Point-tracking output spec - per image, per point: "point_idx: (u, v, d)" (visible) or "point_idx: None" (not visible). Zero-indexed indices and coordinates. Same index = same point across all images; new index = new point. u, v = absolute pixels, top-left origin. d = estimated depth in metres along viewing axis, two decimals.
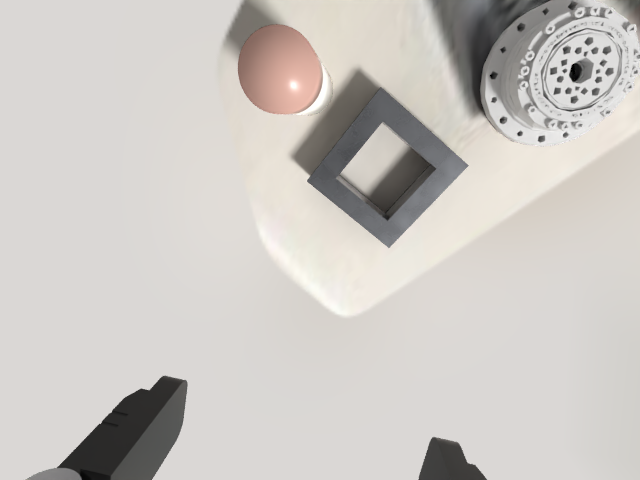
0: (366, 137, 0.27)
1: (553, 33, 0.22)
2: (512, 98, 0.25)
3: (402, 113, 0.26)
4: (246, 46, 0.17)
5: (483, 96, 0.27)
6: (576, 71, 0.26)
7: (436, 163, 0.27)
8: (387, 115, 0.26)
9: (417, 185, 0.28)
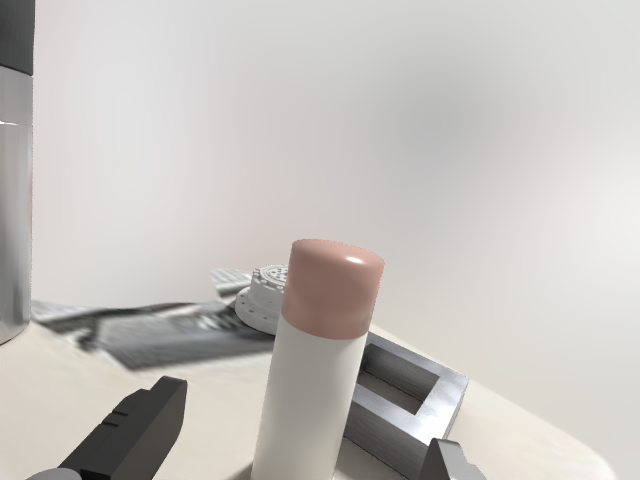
0: None
1: (267, 280, 0.32)
2: None
3: None
4: (315, 257, 0.13)
5: None
6: None
7: (366, 342, 0.27)
8: None
9: (390, 362, 0.27)
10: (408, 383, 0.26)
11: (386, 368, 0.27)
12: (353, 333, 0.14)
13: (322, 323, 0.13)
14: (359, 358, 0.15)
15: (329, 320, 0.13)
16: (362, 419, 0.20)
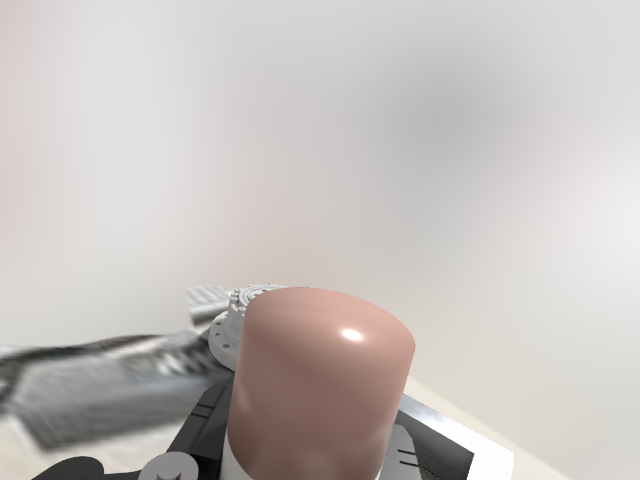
0: None
1: (246, 306, 0.26)
2: None
3: None
4: (282, 347, 0.07)
5: None
6: None
7: None
8: None
9: (405, 426, 0.20)
10: (429, 457, 0.19)
11: None
12: None
13: (296, 475, 0.07)
14: None
15: (310, 470, 0.07)
16: None
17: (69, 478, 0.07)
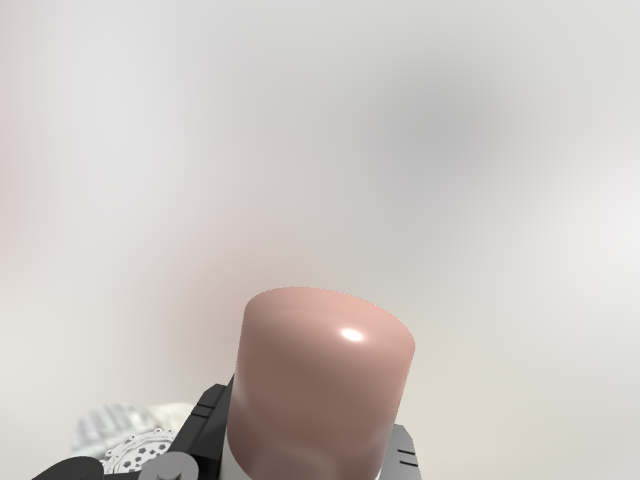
0: None
1: None
2: None
3: None
4: (281, 347, 0.07)
5: None
6: None
7: None
8: None
9: None
10: None
11: None
12: None
13: (296, 475, 0.07)
14: None
15: (309, 470, 0.07)
16: None
17: (69, 478, 0.07)
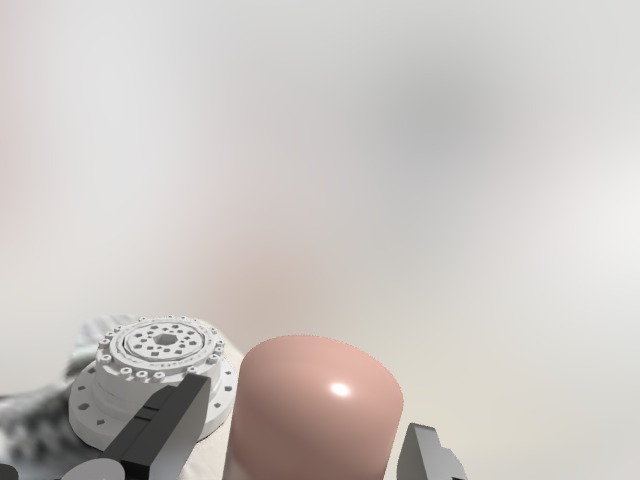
0: None
1: (113, 354, 0.20)
2: None
3: None
4: (274, 414, 0.07)
5: None
6: None
7: None
8: None
9: None
10: None
11: None
12: None
13: None
14: None
15: None
16: None
17: None
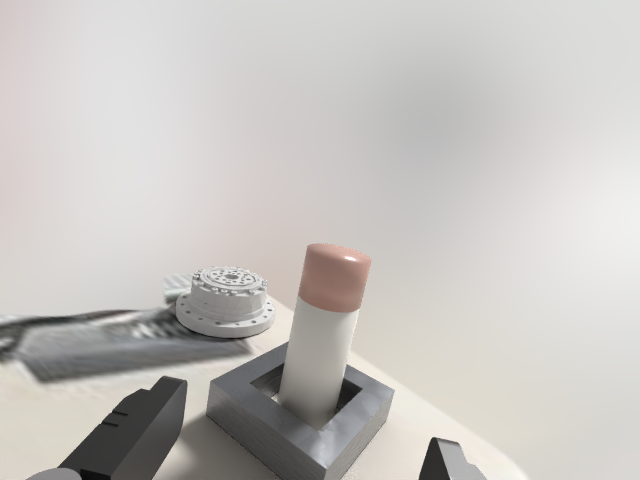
0: (265, 397, 0.21)
1: (204, 281, 0.33)
2: (240, 307, 0.33)
3: (243, 368, 0.24)
4: (324, 256, 0.20)
5: (232, 331, 0.32)
6: None
7: None
8: (243, 378, 0.23)
9: None
10: None
11: None
12: (349, 308, 0.20)
13: (328, 301, 0.20)
14: (353, 327, 0.21)
15: (333, 299, 0.20)
16: (264, 435, 0.20)
17: None
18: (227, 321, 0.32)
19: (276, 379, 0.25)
